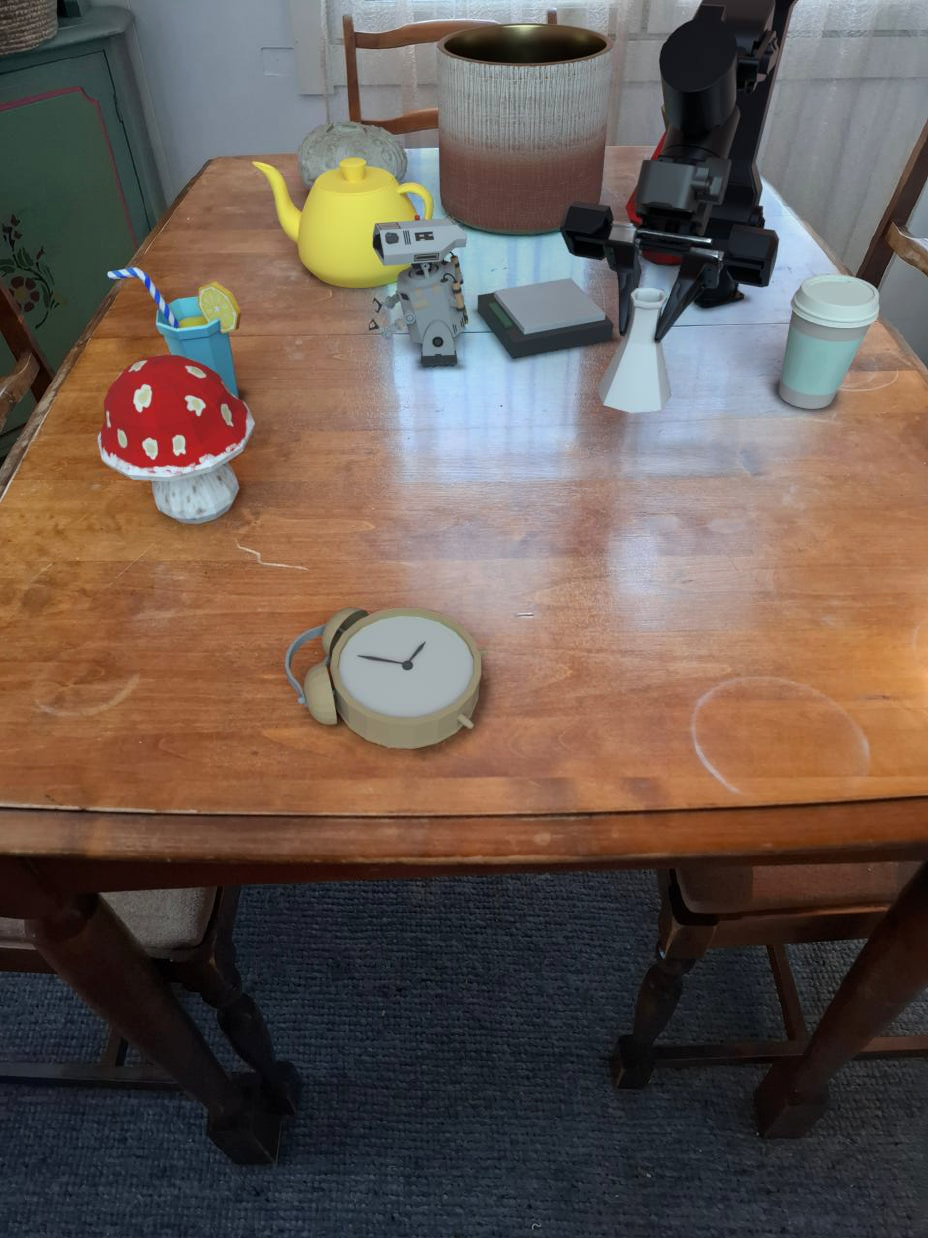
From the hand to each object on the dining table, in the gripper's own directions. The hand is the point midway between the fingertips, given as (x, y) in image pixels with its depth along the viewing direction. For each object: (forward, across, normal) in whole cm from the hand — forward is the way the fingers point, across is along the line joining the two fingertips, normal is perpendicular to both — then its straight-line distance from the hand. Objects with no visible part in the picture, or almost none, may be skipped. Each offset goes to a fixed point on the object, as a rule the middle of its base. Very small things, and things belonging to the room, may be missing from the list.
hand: (638, 338), depth 72 cm
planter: (-31, -35, +51) cm, 69 cm away
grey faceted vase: (+4, 0, +6) cm, 7 cm away
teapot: (-12, -48, +31) cm, 59 cm away
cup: (+15, -46, +4) cm, 48 cm away
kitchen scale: (-7, -17, +26) cm, 32 cm away
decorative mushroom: (+26, -35, -7) cm, 44 cm away
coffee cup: (-4, +15, +24) cm, 28 cm away
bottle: (-26, -8, +46) cm, 53 cm away
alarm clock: (+35, -8, -16) cm, 39 cm away
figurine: (+1, -29, +18) cm, 34 cm away
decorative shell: (-28, -62, +48) cm, 84 cm away
